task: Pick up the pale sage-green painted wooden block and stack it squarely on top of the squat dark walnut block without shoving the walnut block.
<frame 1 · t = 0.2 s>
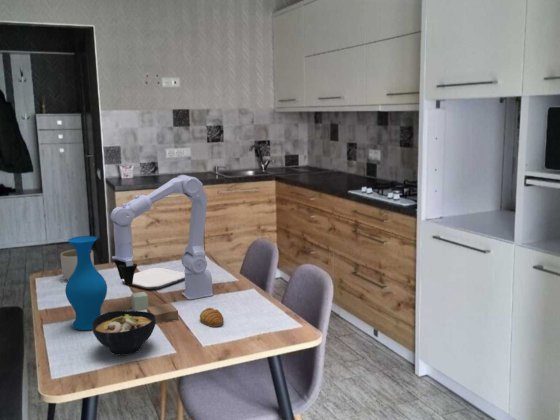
hand: (126, 281, 185), 10 cm above the table, fingers open, 7 cm apart
green block: (140, 308, 187), on the table
vase: (89, 325, 172), on the table
planter: (78, 279, 221), on the table
plate: (154, 282, 217), on the table
pastry: (212, 322, 174), on the table
base block: (162, 319, 177), on the table
bowl: (126, 349, 154), on the table
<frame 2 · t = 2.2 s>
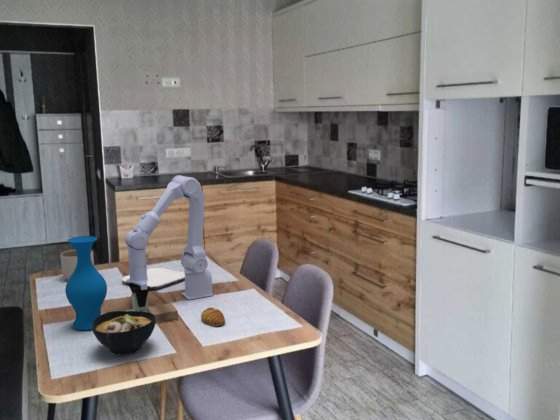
hand: (140, 304, 186), 1 cm above the table, fingers closed on green block, 4 cm apart
green block: (140, 308, 187), on the table, touching gripper
when the fingers open (6 cm above the table, at t = 5.8 s): green block drops 1 cm, point 3 cm above the table.
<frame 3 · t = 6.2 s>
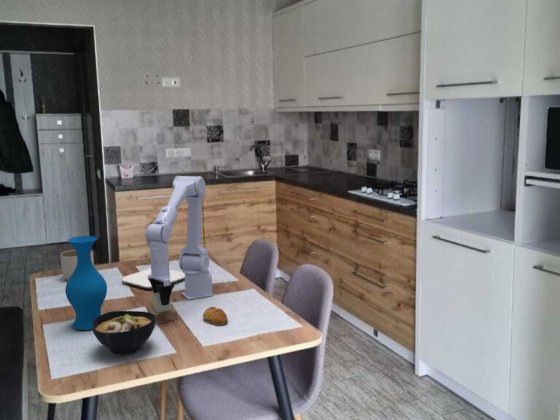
hand: (161, 301, 176), 6 cm above the table, fingers open, 7 cm apart
green block: (162, 309, 177), point 3 cm above the table
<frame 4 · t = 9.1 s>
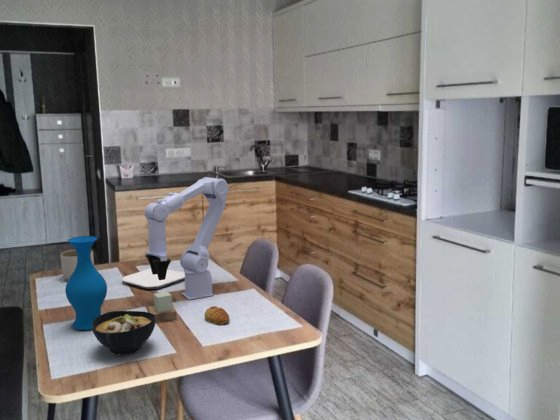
hand: (158, 276, 187), 10 cm above the table, fingers open, 7 cm apart
at the end: green block 0.5 cm off-centre on the base block, point 3.5 cm above the base block's base; green block tilted 0°; base block moved 0.5 cm from its start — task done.
